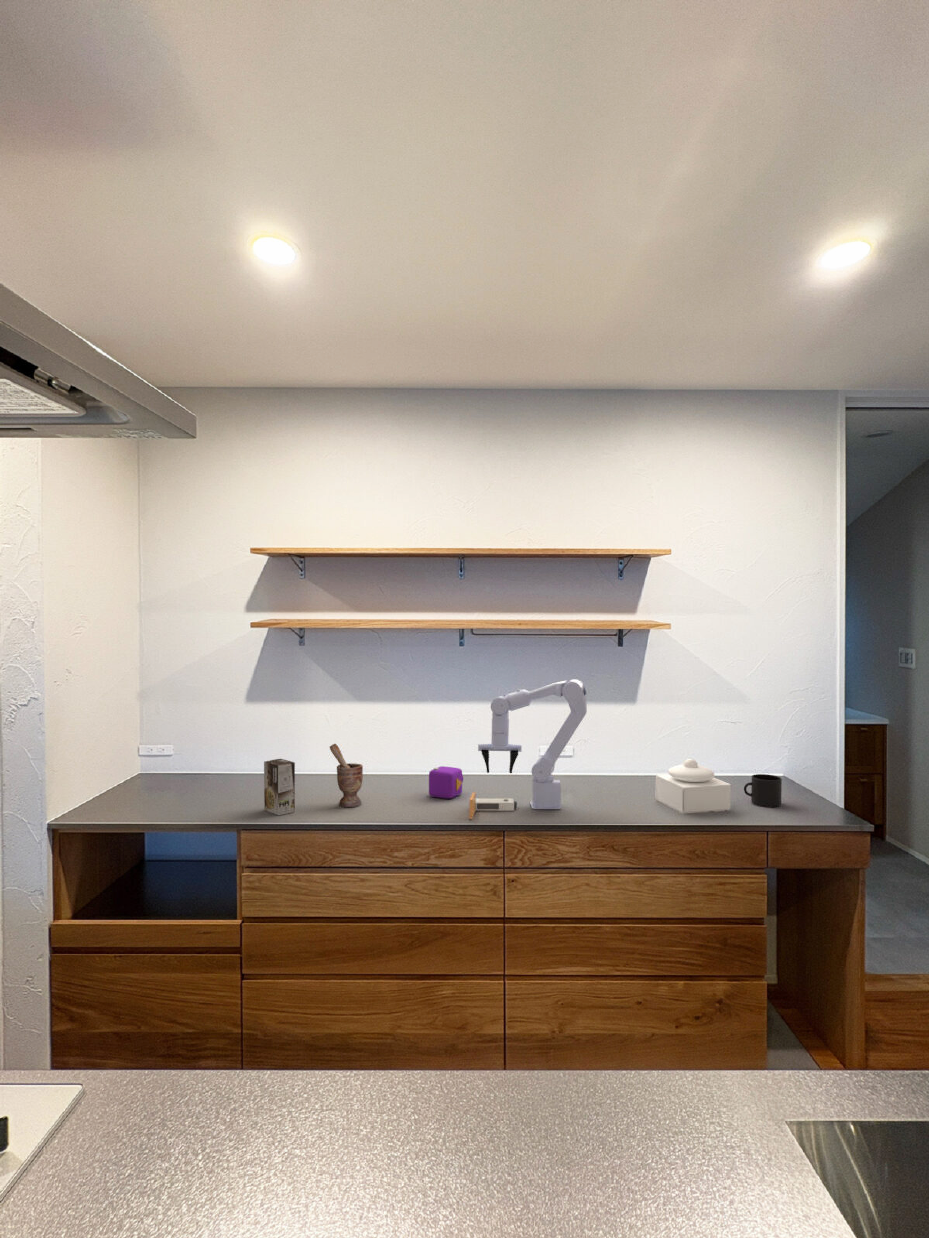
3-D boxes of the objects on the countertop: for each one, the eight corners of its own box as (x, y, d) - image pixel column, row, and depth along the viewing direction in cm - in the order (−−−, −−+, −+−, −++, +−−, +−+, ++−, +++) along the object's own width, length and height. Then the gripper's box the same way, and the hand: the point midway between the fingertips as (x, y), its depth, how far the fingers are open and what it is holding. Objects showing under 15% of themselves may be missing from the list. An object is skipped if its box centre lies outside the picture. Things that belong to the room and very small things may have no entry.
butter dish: (700, 797, 257) (700, 752, 257) (731, 811, 240) (731, 762, 239) (655, 800, 253) (655, 754, 252) (683, 814, 235) (683, 765, 235)
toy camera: (467, 791, 263) (467, 763, 263) (456, 800, 250) (456, 771, 250) (438, 788, 266) (438, 761, 266) (426, 798, 253) (426, 769, 253)
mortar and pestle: (325, 807, 241) (325, 747, 240) (331, 800, 250) (331, 742, 249) (359, 808, 240) (360, 747, 240) (364, 801, 249) (364, 742, 249)
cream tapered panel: (515, 806, 244) (515, 797, 243) (517, 810, 238) (517, 801, 238) (473, 806, 243) (473, 797, 243) (474, 810, 238) (474, 801, 238)
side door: (473, 810, 238) (473, 791, 238) (475, 810, 238) (475, 791, 238) (469, 818, 228) (469, 799, 228) (471, 818, 228) (472, 799, 228)
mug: (740, 799, 254) (741, 773, 254) (777, 800, 252) (777, 774, 252) (746, 806, 245) (746, 779, 245) (784, 808, 243) (784, 781, 243)
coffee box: (295, 812, 236) (295, 762, 235) (277, 816, 231) (277, 765, 231) (281, 806, 242) (281, 757, 242) (263, 810, 238) (263, 760, 237)
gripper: (520, 730, 251) (519, 769, 251) (478, 729, 251) (477, 769, 251) (522, 734, 244) (521, 774, 244) (478, 733, 244) (478, 773, 244)
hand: (499, 772), depth 247 cm, fingers open, 7 cm apart
